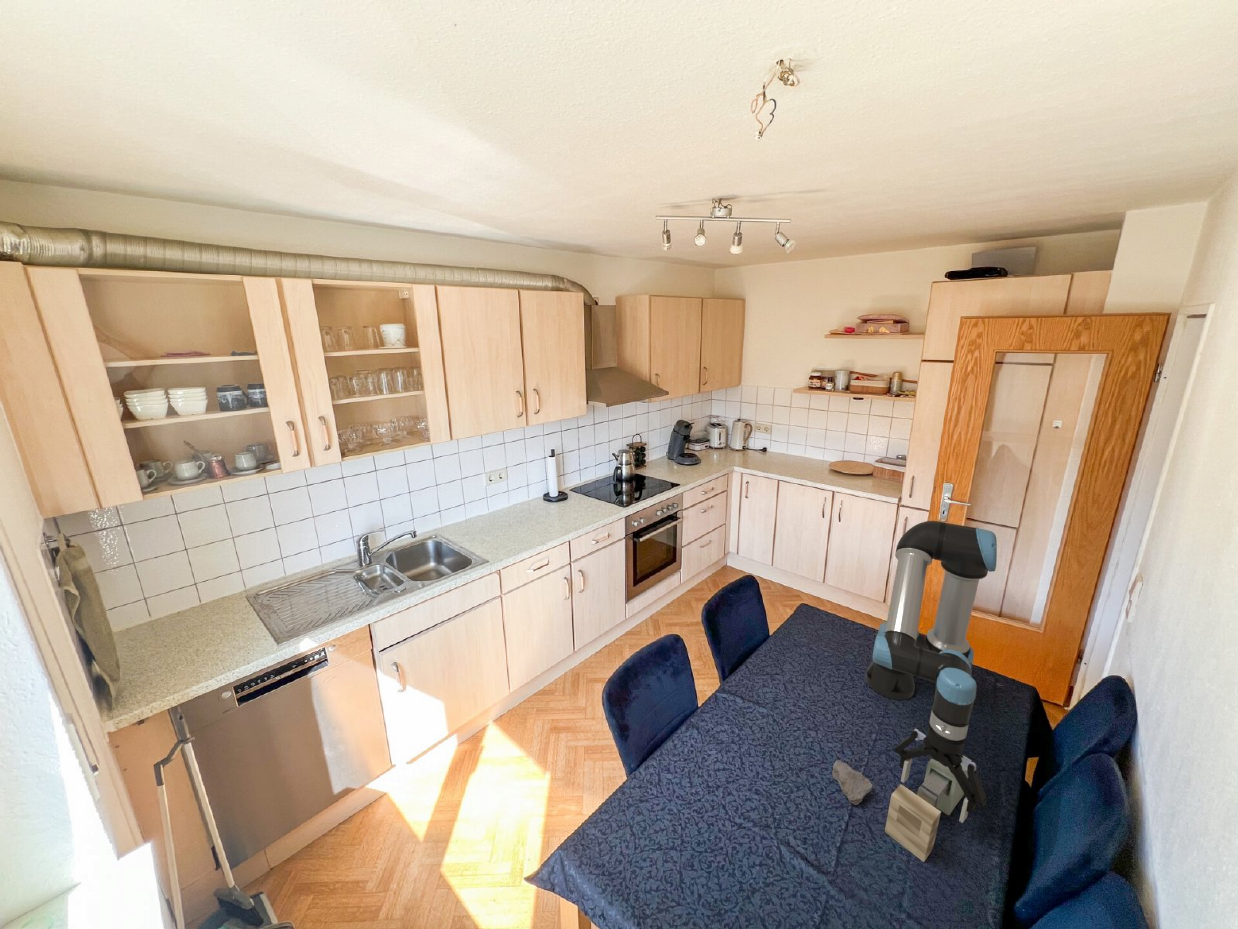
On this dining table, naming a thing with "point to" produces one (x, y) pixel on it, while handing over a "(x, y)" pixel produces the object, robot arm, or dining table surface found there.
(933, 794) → the grey-banded white peg
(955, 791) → the sleeve
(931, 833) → the socket block
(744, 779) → the dining table surface
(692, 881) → the dining table surface
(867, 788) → the stone
